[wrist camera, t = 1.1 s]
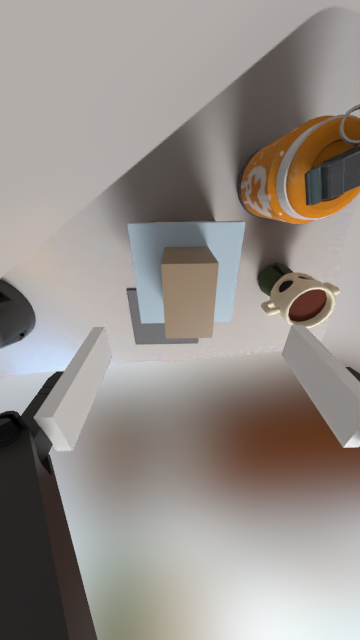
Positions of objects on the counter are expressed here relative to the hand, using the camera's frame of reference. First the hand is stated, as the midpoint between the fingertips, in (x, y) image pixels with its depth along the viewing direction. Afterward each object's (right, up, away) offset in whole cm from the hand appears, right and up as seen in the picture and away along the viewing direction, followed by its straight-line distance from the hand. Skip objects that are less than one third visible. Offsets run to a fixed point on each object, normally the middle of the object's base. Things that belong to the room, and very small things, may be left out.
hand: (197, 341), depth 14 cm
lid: (0, +8, +13) cm, 15 cm away
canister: (+13, +24, +17) cm, 32 cm away
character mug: (+17, +10, +25) cm, 32 cm away
